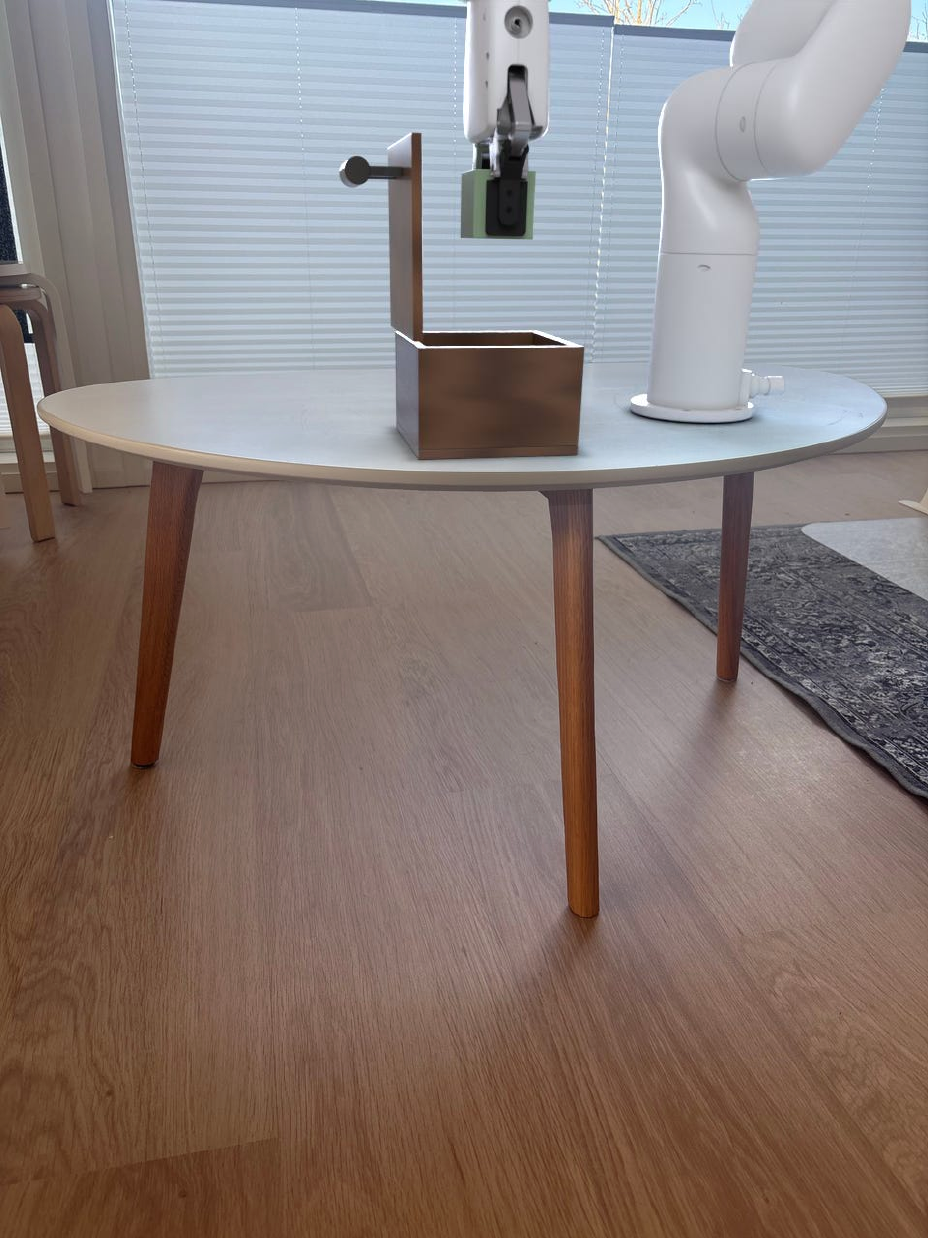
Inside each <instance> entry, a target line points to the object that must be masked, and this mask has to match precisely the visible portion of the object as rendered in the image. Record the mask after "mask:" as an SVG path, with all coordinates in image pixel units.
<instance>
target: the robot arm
mask: <svg viewBox="0 0 928 1238" xmlns="http://www.w3.org/2000/svg"><path fill="white" fill-rule="evenodd" d="M458 1H459V2H460V3H463V4H466V5H467V12H466V13H467V14H466V32H465V49H464V50H465V52H464V77H463V78H464V79H463V82H464V84H463V128H464V129H463V130H464V137H465V139H466V141H468V142H469V143H470V144H472V145H473V156H472V168H471V170H473V169H490V170H491V179H492V180H487V184H486V223H485V232H486V234H487V235H489V236H523V235H524V234H525V233H526V213H527V189H528V181H527V178H528V171H529V153H530V146H529V144H530V143H533V142H535V141H538V140H540V139H541V138H542V137H544V136H545V134H546V133H547V132H548V129H549V123H550V73H551V71H550V68H551V65H550V59H551V56H550V55H551V52H550V51H551V50H550V42H551V41H550V39H551V38H550V36H551V35H550V8H549V3H550V2H552V0H458ZM741 18H742V19H741V20H740V22H739V24H738V25H737V28H736V29H735V33H734V34H733V37H732V41H731V45H730V51H729V64H730V65H729V66H723V67H717V68H713V69H708V70H704V71H702V72H699V73H696V74H695V75H692V76H690V77H688V78H687V79H685V80H683V81H682V82H681V83H680V84H678V85H677V86H676V87H675V89H673V91H672V92H671V93H670V95H669V96H668V98H667V99H666V101H665V103H664V105H663V108H662V110H661V114H660V117H659V124H658V152H659V162H660V170H661V171H660V173H661V185H662V186H661V187H662V188H661V189H662V191H661V192H662V197H661V198H662V203H661V204H662V205H661V223H660V224H661V226H660V239H659V248H658V250H659V251H658V259H657V272H656V280H655V292H654V304H653V315H652V327H651V339H650V349H649V361H648V373H647V382H646V384H647V385H646V394H640V395H636V396H634V397H632V398H631V399H630V408H629V409H630V410H631V412H633V413H634V414H637V415H640V416H643V417H647V418H652V419H658V420H664V421H672V422H683V423H684V422H685V423H707V424H709V423H710V424H711V423H712V424H713V423H714V424H715V423H716V424H717V423H733V422H739V421H745V420H748V419H750V418H752V417H753V415H754V411H755V405H754V404H753V403H752V402H750V399H751V400H752V399H755V398H756V397H757V396H761V395H762V396H782V395H783V394H784V393H785V390H786V380H785V377H784V376H764V377H761V376H760V375H756V374H754V373H753V371H752V370H749V369H744V364H745V357H746V349H747V342H748V341H747V340H748V334H749V324H750V318H751V317H750V316H751V310H752V303H753V302H752V301H753V294H754V286H755V277H756V269H757V262H758V255H759V249H760V239H761V238H760V237H761V229H760V220H759V215H758V211H757V209H756V205H755V203H754V200H753V197H752V195H751V192H750V189H749V186H748V182H749V181H763V180H764V181H765V180H786V179H795V178H796V179H797V178H802V177H808V176H810V175H812V174H815V173H816V172H818V171H820V170H821V169H822V168H824V167H825V166H827V165H828V163H829V162H831V161H832V160H833V159H834V158H835V156H836V155H837V154H838V153H839V152H840V150H841V148H842V147H843V146H844V144H845V143H846V141H847V140H848V139H849V137H850V136H851V135H852V133H853V131H854V130H855V129H856V127H857V126H858V124H859V123H860V121H861V120H862V118H863V117H864V116H865V114H866V113H867V112H868V110H869V108H870V107H871V106H872V104H873V102H874V101H875V99H876V98H877V97H878V95H879V94H880V92H881V91H882V89H883V88H884V86H886V83H887V82H888V80H889V79H890V77H891V75H892V74H893V72H894V71H895V69H896V67H897V65H898V63H899V62H900V59H901V58H902V55H903V52H904V49H905V47H906V43H907V41H908V36H909V32H910V26H911V21H912V0H753V2H752V3H751V4H750V6H749V8H748V9H747V10H746V12H745V14H744V15H743V17H741Z"/></svg>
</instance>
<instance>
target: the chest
mask: <svg viewBox="0 0 928 1238" xmlns="http://www.w3.org/2000/svg"><path fill="white" fill-rule="evenodd" d="M394 338H395V339H394V346H395V347H394V348H395V349H394V351H395V356H394V357H395V424H396V425H395V426H396V427H395V428H396V430H397V431H398V433H399V434H400V435H401V437H402V438H403V439H404V441H405V442H406V444H407V445H408V446H409V448H410V449H411V451H412V452H413V453H414V455H415V456H416V458H417V459H418V460H419V461H420V460H447V459H453V460H455V459H482V458H483V459H484V458H515V457H519V458H520V457H548V456H549V457H550V456H552V457H555V456H577V455H579V442H580V426H581V425H580V424H581V412H582V411H581V409H582V394H583V393H582V392H583V376H584V361H585V360H584V359H585V347H584V346H582V345H579V344H577V343H574V342H571V341H567V340H565V339H562V338H560V337H556V336H553V335H551V334H548V333H545V332H542V331H539V330H473V331H472V330H466V331H465V330H457V331H456V330H451V331H448V330H446V331H445V330H444V331H443V330H442V331H441V330H439V331H438V330H437V331H432V330H431V331H430V330H429V331H425V330H423V342H413V341H412V340H410V339H409V338H407V337H406V336H404V335H403V334H402V333H400V332H399V331H395V332H394Z"/></svg>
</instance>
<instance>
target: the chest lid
mask: <svg viewBox="0 0 928 1238" xmlns="http://www.w3.org/2000/svg"><path fill="white" fill-rule="evenodd" d="M338 174H339V180H340V181H341V183H342V184H343V185H344V186H346V187H347V188H349V189H351V188H352V189H353V188H357V187H359V186H362V185H363V184H365V183H366V182H368V180H384V181H385V180H387V195H388V197H387V198H388V202H387V203H388V247H389V249H388V252H389V253H388V254H389V304H390V305H389V306H390V308H389V309H390V310H389V311H390V312H389V313H390V327H391V328H392V329H394V330H396V332H400V333H402V334H403V335H404V336H406V337H407V338H409V339H410V340H412V341H413V342H423V331H424V254H423V253H424V249H423V247H424V245H423V244H424V243H423V241H424V240H423V239H424V238H423V237H424V236H423V231H424V230H423V227H424V225H423V224H424V223H423V221H424V220H423V132H413V131H412V132H410V133H409V134H407V135H406V136H404V137H403V138H401V139H400V140H398V141H397V142H395V143H393V144H391V146H389V147H387V165H370V163H369V162H368V160H367V159H366V158H365V157H363V156H361V155H353V156H351V157H349V158H348V159H347V160H345V161H344V162H343V163H342V164H341V165H340V168H339V172H338Z"/></svg>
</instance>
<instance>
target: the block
mask: <svg viewBox="0 0 928 1238" xmlns="http://www.w3.org/2000/svg"><path fill="white" fill-rule="evenodd" d="M536 176H537V172H536V171H535V170H528V178H527V181H528V189H527V213H526V233H525V234H524V235H523V236H489V235H487V234H486V232H485V223H486V184H487V180H492V179H491V170H490V169H473V170H472V169H470V170H467V171H464V172H462V173H461V183H460V184H461V185H460V186H461V187H460V188H461V190H460V191H461V192H460V238H461V239H478V240H479V239H480V240H481V239H482V240H483V239H484V240H527V241H528V240H534V225H535V224H534V223H535V222H534V221H535V204H536V203H535V201H536V200H535V199H536V179H537V177H536Z"/></svg>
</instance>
